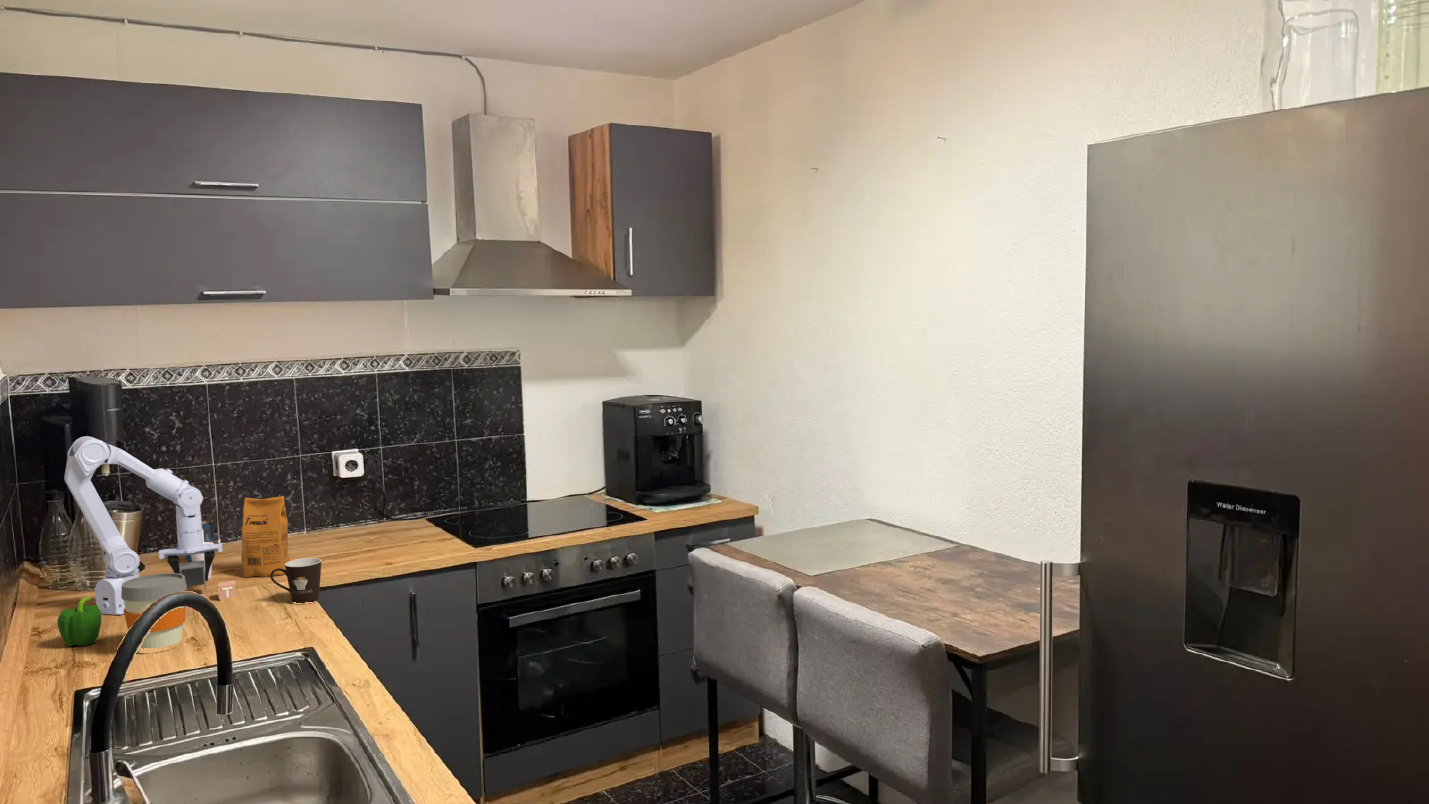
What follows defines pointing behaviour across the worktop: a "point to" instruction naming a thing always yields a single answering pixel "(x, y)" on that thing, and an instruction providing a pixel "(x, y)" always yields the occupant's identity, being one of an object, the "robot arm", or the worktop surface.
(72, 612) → the bell pepper
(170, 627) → the reusable coffee cup
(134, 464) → the robot arm
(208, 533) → the soda can
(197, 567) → the grey hollow cube
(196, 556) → the smoothie
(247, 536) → the coffee package
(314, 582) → the coffee mug
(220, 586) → the letter cube
